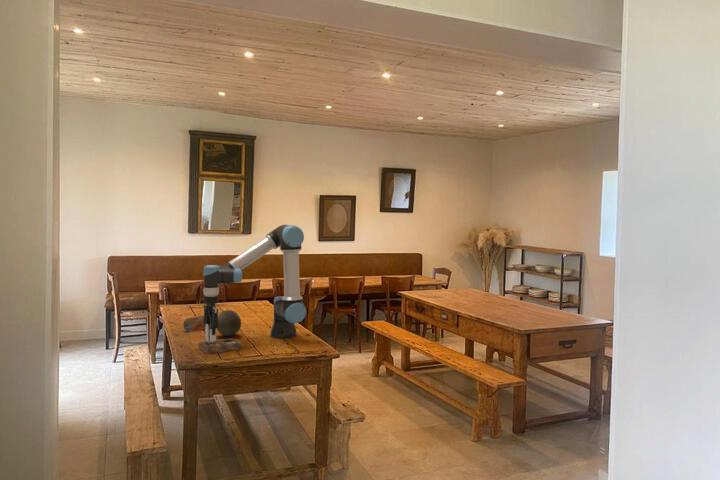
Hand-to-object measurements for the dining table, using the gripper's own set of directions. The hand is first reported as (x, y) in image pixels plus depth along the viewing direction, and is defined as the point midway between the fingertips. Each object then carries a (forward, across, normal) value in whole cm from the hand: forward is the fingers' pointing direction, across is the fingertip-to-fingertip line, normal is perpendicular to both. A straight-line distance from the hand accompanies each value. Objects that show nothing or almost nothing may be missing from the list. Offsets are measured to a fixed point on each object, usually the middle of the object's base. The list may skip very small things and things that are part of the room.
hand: (210, 339), depth 270 cm
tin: (+5, -46, +8) cm, 47 cm away
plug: (+5, 0, 0) cm, 5 cm away
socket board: (+5, +2, +4) cm, 7 cm away
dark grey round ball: (+5, -20, +18) cm, 28 cm away
